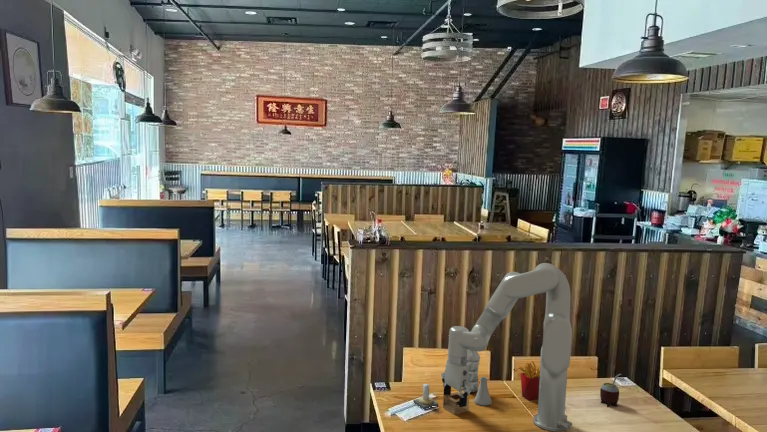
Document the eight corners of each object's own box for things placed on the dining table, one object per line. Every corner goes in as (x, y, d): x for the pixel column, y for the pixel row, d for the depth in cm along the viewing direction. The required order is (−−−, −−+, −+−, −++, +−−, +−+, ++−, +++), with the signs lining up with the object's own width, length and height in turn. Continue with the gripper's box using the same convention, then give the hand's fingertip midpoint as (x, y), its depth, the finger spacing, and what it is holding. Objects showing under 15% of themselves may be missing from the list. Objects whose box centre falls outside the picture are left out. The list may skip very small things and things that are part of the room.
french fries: (542, 400, 216) (544, 364, 215) (525, 403, 213) (527, 366, 212) (528, 391, 224) (530, 357, 223) (512, 394, 221) (514, 359, 220)
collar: (468, 411, 204) (469, 398, 204) (454, 414, 200) (454, 402, 200) (457, 404, 210) (457, 391, 210) (443, 407, 206) (443, 395, 206)
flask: (492, 407, 208) (493, 382, 207) (473, 405, 210) (474, 380, 209) (491, 399, 215) (493, 376, 214) (474, 397, 217) (475, 374, 216)
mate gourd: (601, 399, 219) (603, 364, 218) (621, 404, 215) (624, 368, 214) (598, 405, 212) (600, 369, 211) (619, 410, 208) (621, 373, 207)
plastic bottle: (459, 389, 225) (461, 343, 223) (472, 387, 228) (474, 341, 226) (468, 395, 219) (470, 348, 217) (481, 392, 222) (483, 346, 220)
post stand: (438, 406, 207) (438, 386, 207) (423, 409, 204) (424, 389, 203) (427, 399, 213) (428, 380, 213) (413, 402, 210) (414, 383, 209)
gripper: (479, 364, 198) (476, 408, 200) (451, 350, 213) (448, 391, 214) (464, 367, 194) (461, 412, 196) (436, 353, 209) (433, 394, 210)
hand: (454, 401), depth 205 cm, fingers open, 9 cm apart
